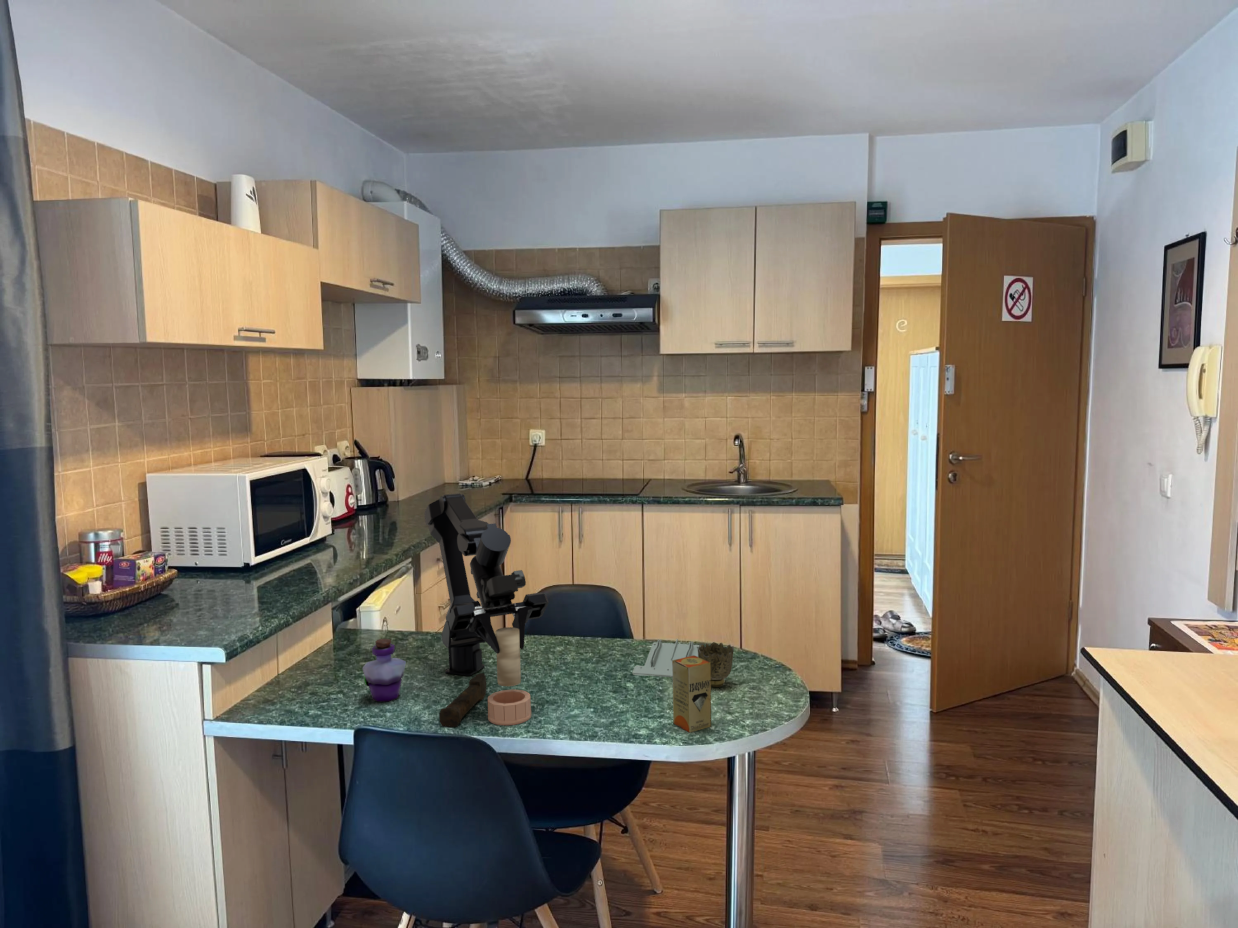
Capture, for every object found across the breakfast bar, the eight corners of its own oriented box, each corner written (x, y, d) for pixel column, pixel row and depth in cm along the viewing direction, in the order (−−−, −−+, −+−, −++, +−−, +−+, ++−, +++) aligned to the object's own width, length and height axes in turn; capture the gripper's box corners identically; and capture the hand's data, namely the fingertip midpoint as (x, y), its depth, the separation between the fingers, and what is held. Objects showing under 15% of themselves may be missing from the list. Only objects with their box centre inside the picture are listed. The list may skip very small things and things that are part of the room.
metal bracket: (645, 632, 194) (709, 636, 190) (647, 654, 196) (711, 658, 192) (630, 670, 181) (699, 675, 177) (632, 692, 183) (701, 698, 179)
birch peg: (492, 683, 160) (490, 631, 159) (508, 676, 164) (507, 625, 163) (509, 687, 157) (508, 635, 156) (525, 680, 161) (524, 629, 160)
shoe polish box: (673, 723, 156) (672, 660, 155) (694, 717, 159) (694, 655, 158) (689, 732, 152) (688, 667, 151) (711, 726, 155) (710, 662, 153)
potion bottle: (361, 693, 175) (358, 637, 174) (404, 686, 178) (401, 631, 177) (366, 708, 167) (363, 649, 166) (411, 700, 170) (408, 642, 169)
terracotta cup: (479, 722, 159) (479, 702, 158) (501, 705, 166) (500, 687, 166) (518, 727, 156) (518, 707, 155) (538, 711, 163) (538, 691, 163)
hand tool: (458, 729, 156) (457, 705, 156) (438, 727, 157) (438, 703, 157) (498, 692, 175) (497, 671, 174) (480, 691, 176) (479, 669, 175)
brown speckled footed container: (690, 685, 175) (690, 648, 174) (712, 676, 180) (711, 639, 180) (720, 694, 170) (719, 655, 169) (741, 684, 175) (740, 646, 175)
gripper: (450, 563, 157) (470, 636, 149) (543, 551, 166) (567, 620, 157) (440, 595, 165) (459, 666, 157) (530, 582, 174) (552, 650, 165)
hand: (510, 650), depth 159 cm, fingers closed on birch peg, 4 cm apart
